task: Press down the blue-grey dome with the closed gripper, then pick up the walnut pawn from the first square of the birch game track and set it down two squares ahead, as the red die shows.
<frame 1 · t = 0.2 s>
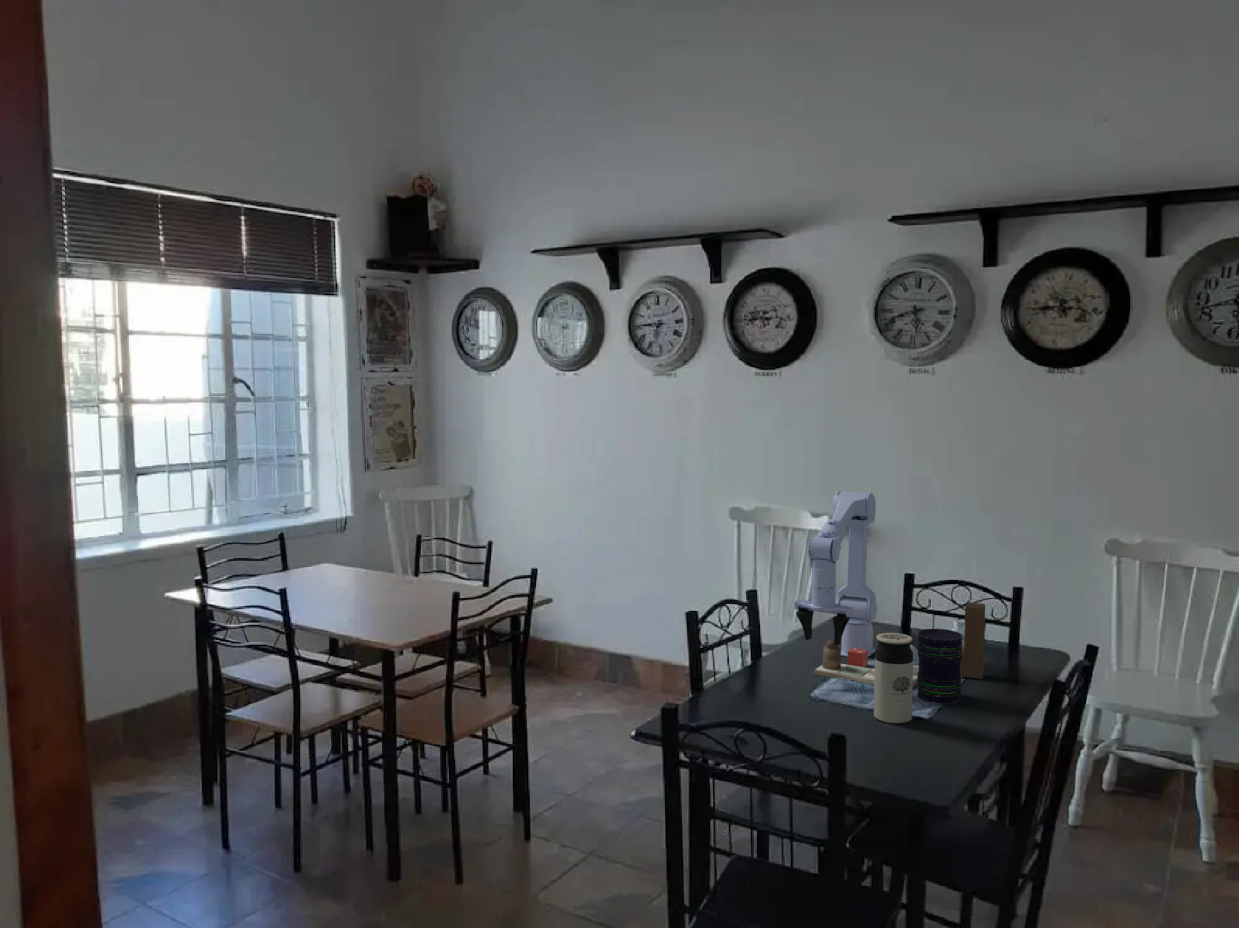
hand: (822, 641, 241), 10 cm above the table, tool pointing down, fingers open, 7 cm apart
travel mug: (892, 718, 216), on the table
pawn: (831, 667, 249), point 1 cm above the table, touching track board
wooden block: (963, 676, 246), on the table
dome: (907, 654, 249), point 4 cm above the table, slide at 0.0 cm
storage jar: (938, 698, 230), on the table
track board: (866, 677, 245), on the table
dome housing: (906, 671, 249), on the table
red die: (857, 666, 254), on the table
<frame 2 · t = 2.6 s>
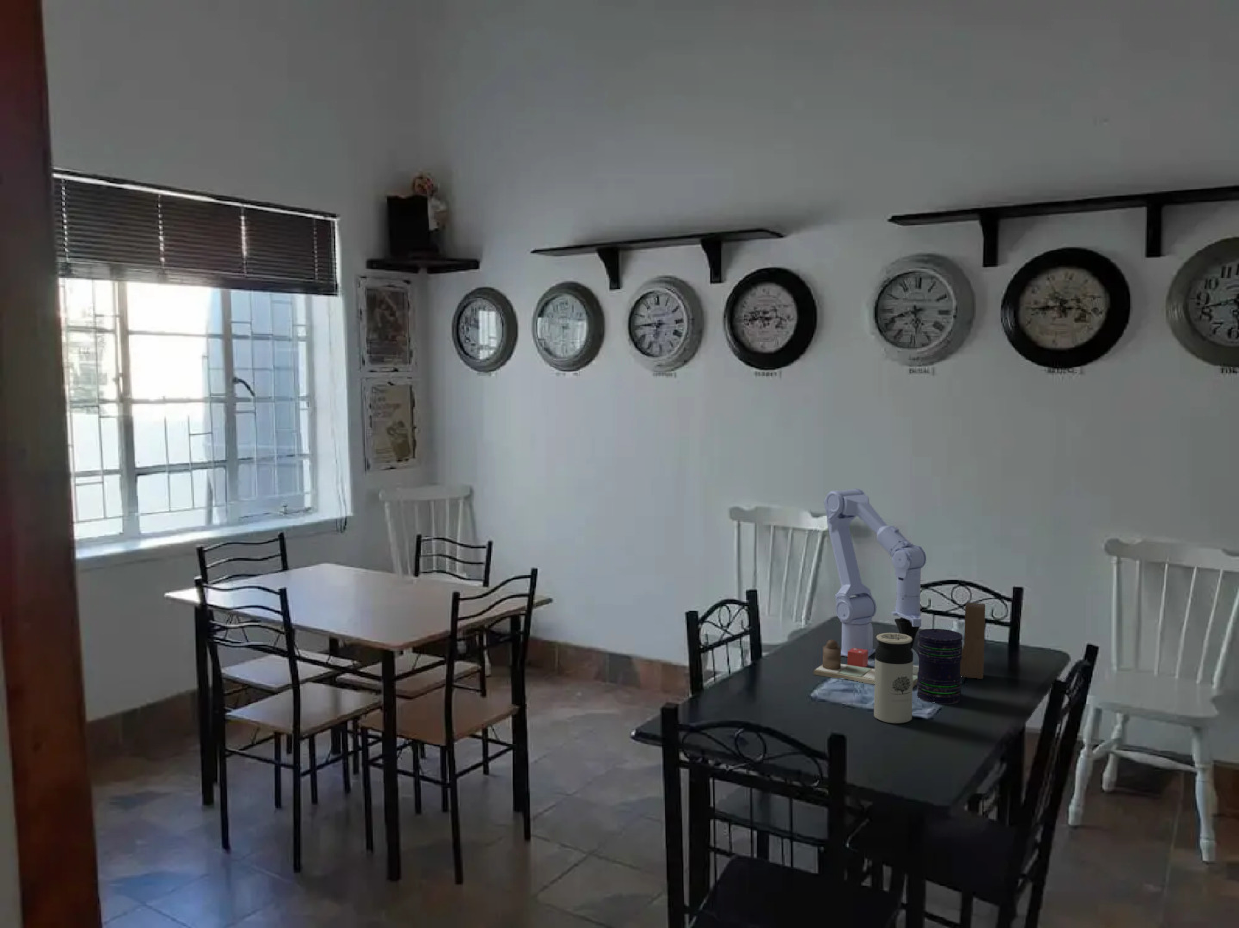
hand: (907, 647, 249), 6 cm above the table, tool pointing down, fingers closed, pressing on dome
dome: (906, 658, 249), point 3 cm above the table, slide at 0.9 cm, touching gripper
everything else where it was.
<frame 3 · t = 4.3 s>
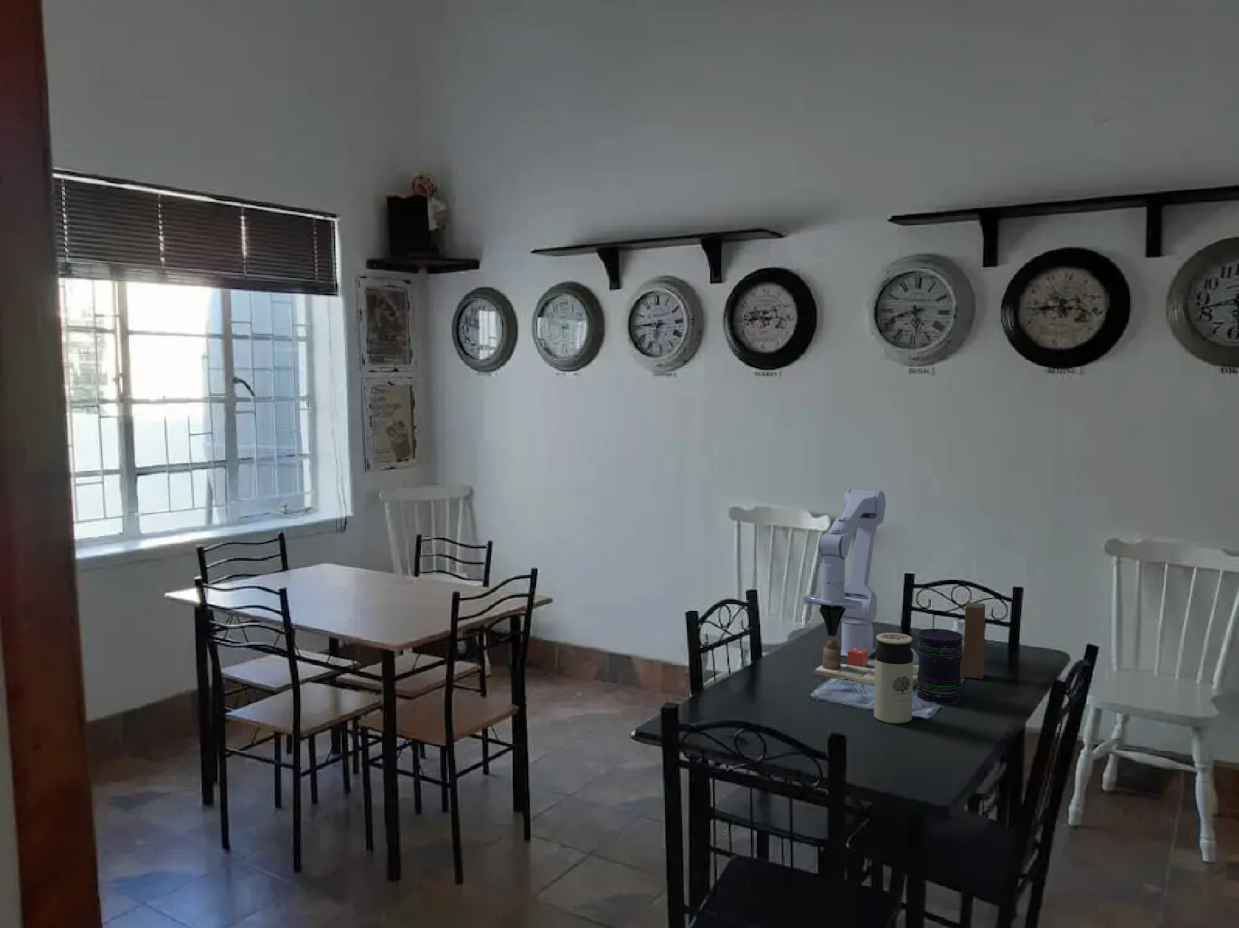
hand: (832, 635, 248), 9 cm above the table, tool pointing down, fingers closed
dome: (906, 658, 249), point 3 cm above the table, slide at 0.9 cm
everything else where it was.
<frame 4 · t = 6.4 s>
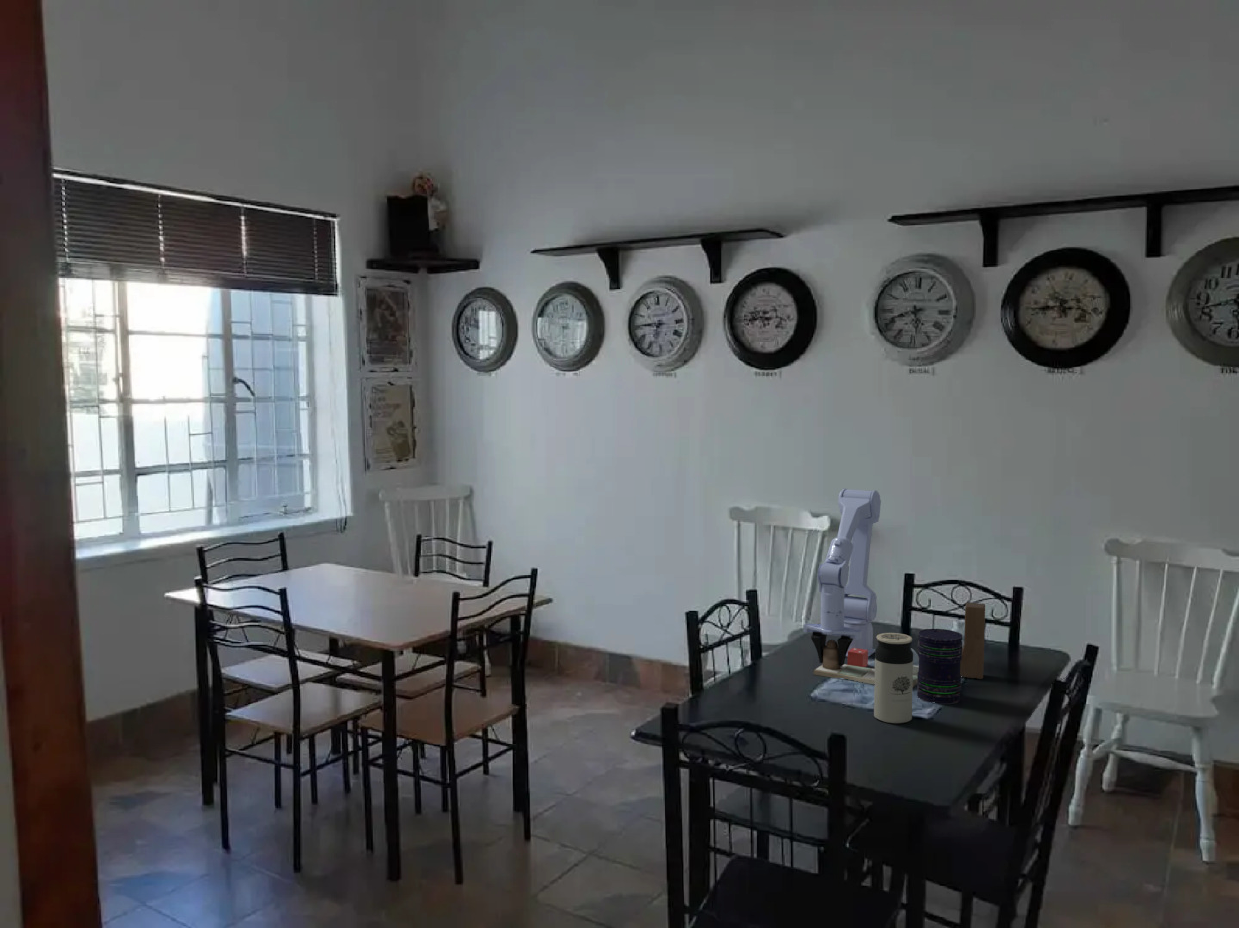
hand: (831, 663, 249), 2 cm above the table, tool pointing down, fingers closed on pawn, 4 cm apart
pawn: (831, 667, 249), point 1 cm above the table, touching gripper, track board
everything else where it was.
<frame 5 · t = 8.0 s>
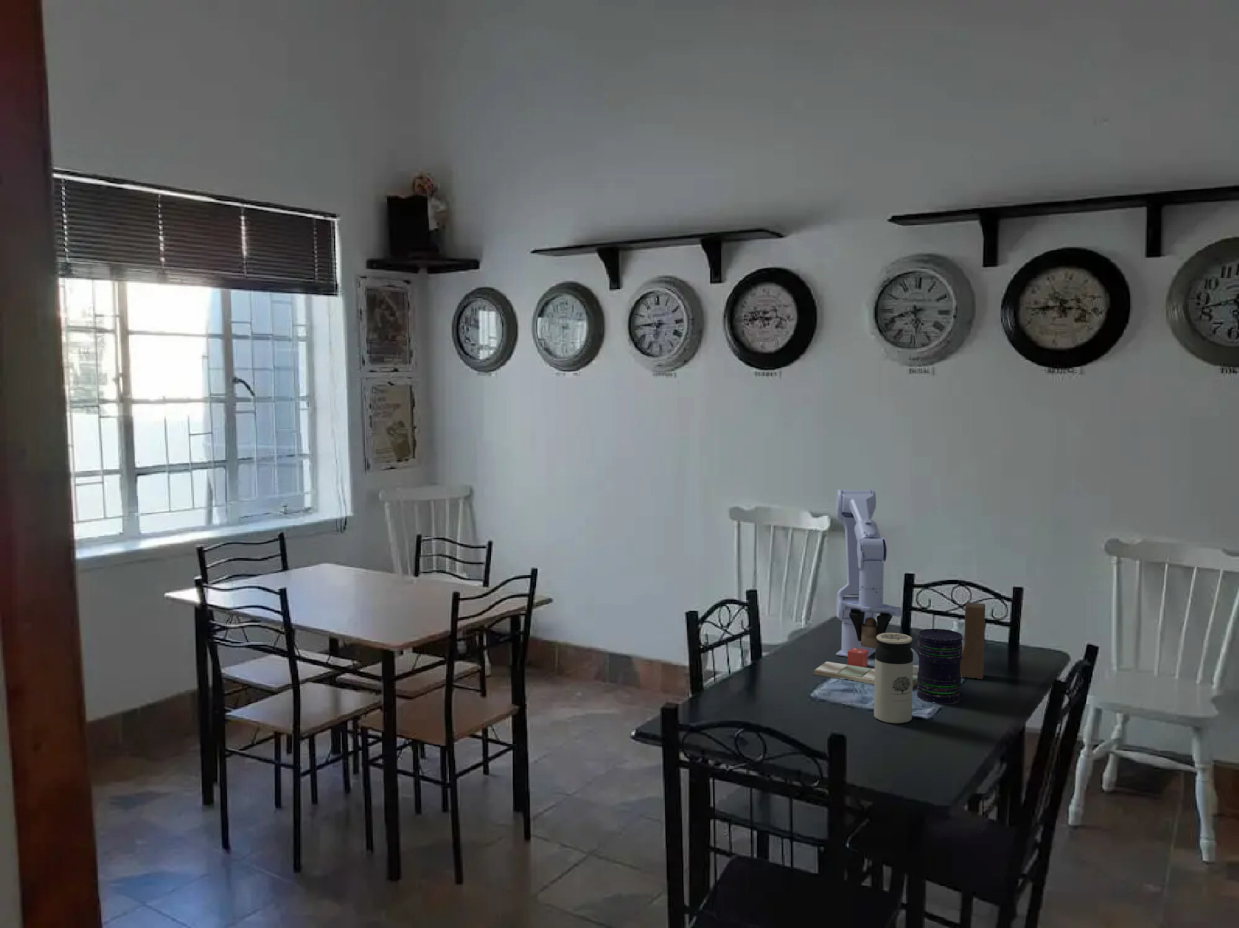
hand: (870, 641, 243), 9 cm above the table, tool pointing down, fingers closed on pawn, 4 cm apart
pawn: (870, 645, 243), point 8 cm above the table, touching gripper
everything else where it was.
when the fingers open (4 cm above the table, at t = 9.7 s): pawn drops 1 cm, resting on track board.
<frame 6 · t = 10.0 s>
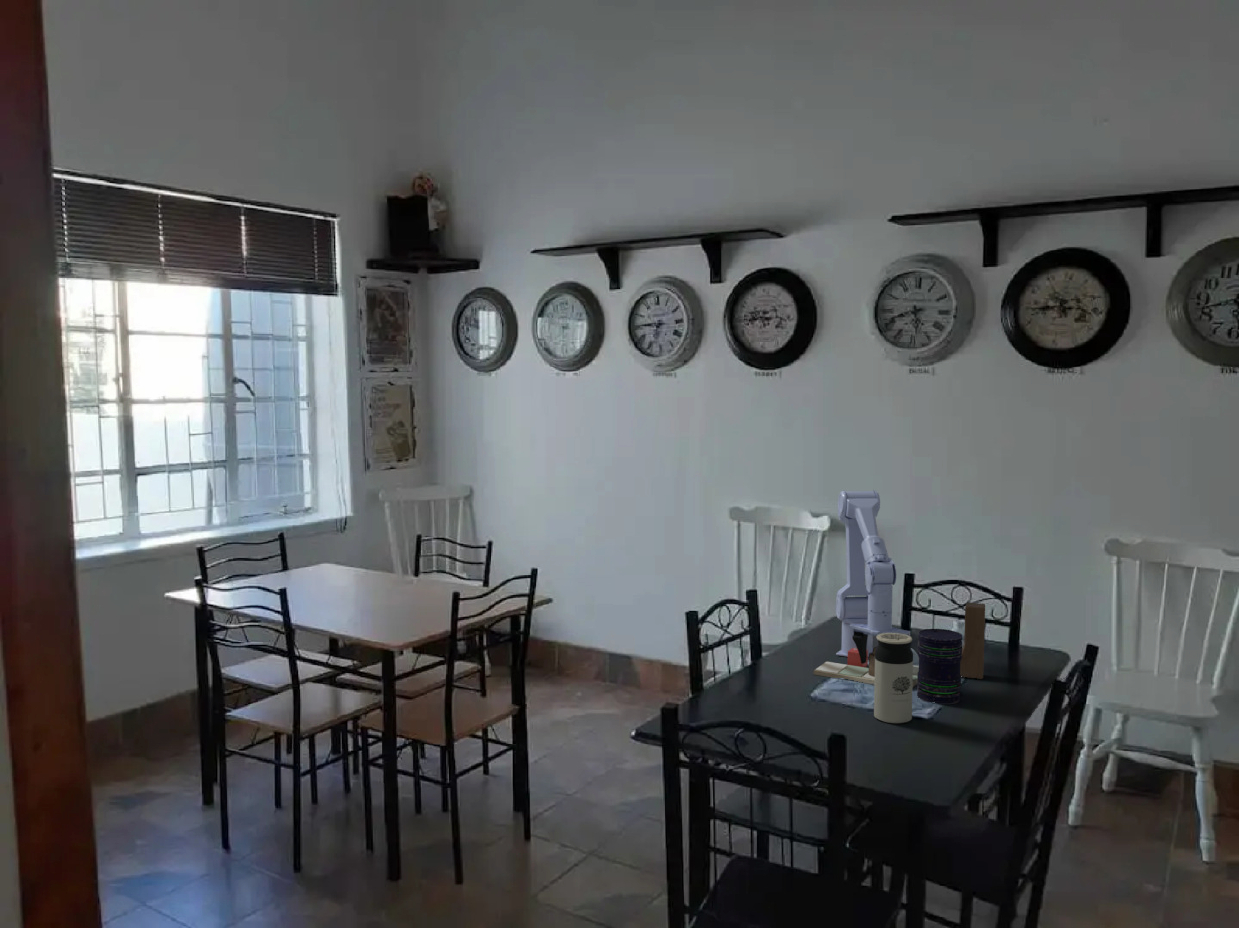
hand: (878, 664, 243), 4 cm above the table, tool pointing down, fingers open, 7 cm apart
pawn: (877, 674, 243), point 1 cm above the table, touching track board
everything else where it was.
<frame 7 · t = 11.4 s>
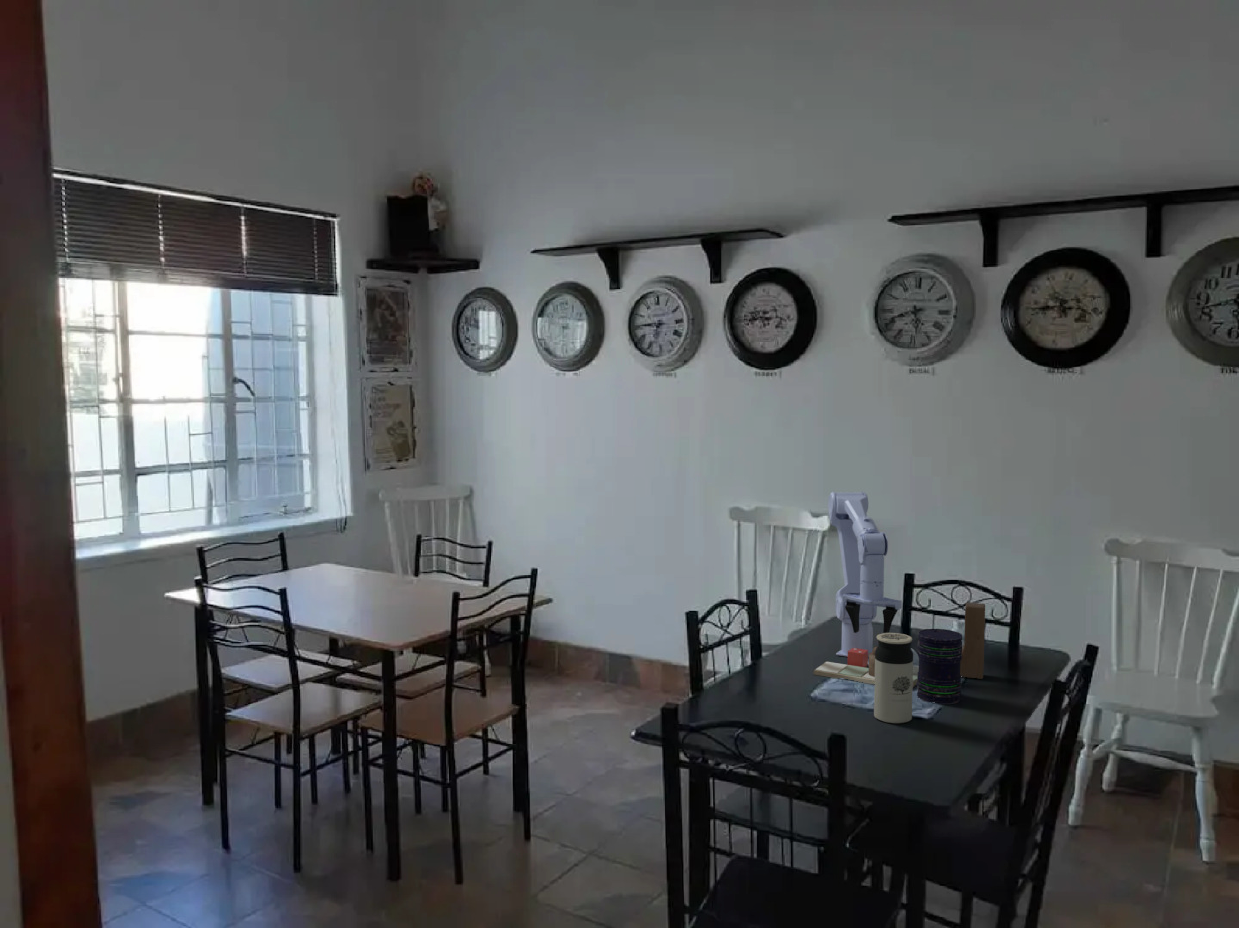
hand: (871, 634, 249), 9 cm above the table, tool pointing down, fingers open, 7 cm apart
nothing on the table moved.
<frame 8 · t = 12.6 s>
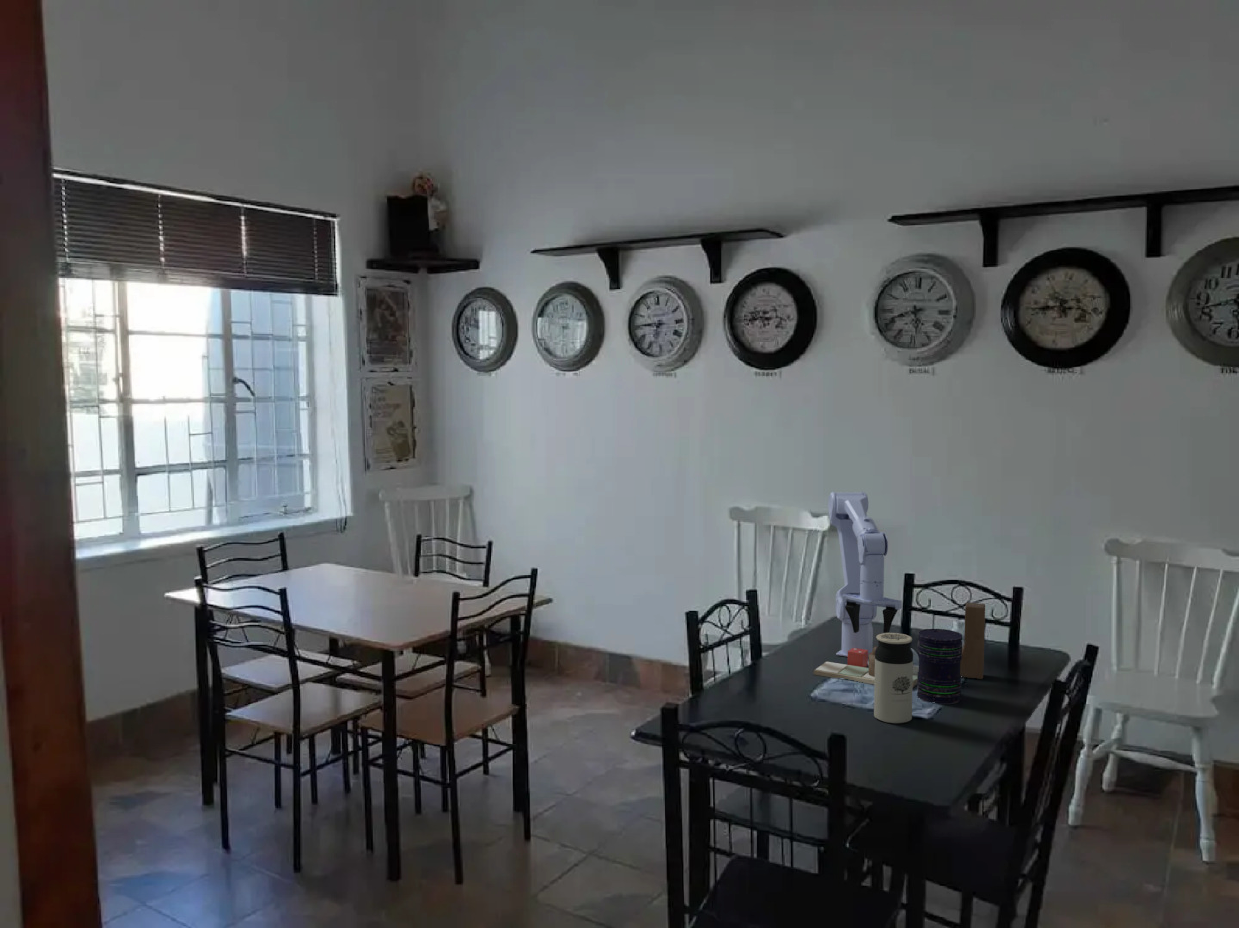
hand: (871, 634, 249), 9 cm above the table, tool pointing down, fingers open, 7 cm apart
nothing on the table moved.
at the end: dome slide at 0.9 cm; pawn 0.2 cm from the target spot, point 1.2 cm above the table; pawn tilted 1° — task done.
